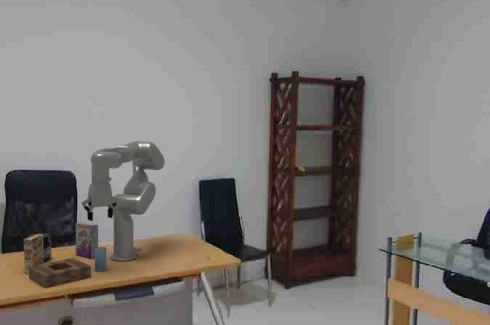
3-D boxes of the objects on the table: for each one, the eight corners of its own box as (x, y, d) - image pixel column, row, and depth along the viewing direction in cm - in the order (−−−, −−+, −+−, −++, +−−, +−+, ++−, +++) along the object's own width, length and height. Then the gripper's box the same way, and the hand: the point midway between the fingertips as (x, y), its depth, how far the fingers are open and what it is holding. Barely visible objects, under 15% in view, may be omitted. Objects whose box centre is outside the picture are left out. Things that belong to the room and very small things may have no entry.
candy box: (32, 273, 215) (32, 239, 213) (23, 273, 216) (23, 238, 214) (44, 267, 224) (43, 234, 222) (35, 267, 224) (34, 234, 223)
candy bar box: (74, 255, 244) (74, 222, 242) (82, 253, 248) (82, 221, 246) (90, 259, 238) (90, 226, 237) (98, 256, 242) (98, 224, 241)
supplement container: (26, 258, 237) (26, 234, 235) (50, 256, 241) (49, 232, 240) (28, 264, 227) (27, 239, 226) (52, 262, 232) (52, 237, 231)
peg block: (73, 268, 223) (73, 257, 223) (91, 277, 212) (91, 265, 212) (28, 278, 209) (28, 266, 209) (45, 288, 198) (45, 275, 198)
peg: (102, 267, 226) (102, 246, 225) (108, 270, 222) (108, 248, 221) (92, 269, 222) (92, 248, 221) (98, 272, 219) (98, 250, 218)
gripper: (113, 178, 227) (113, 215, 229) (78, 181, 215) (78, 220, 216) (122, 180, 222) (121, 218, 223) (86, 183, 209) (86, 223, 211)
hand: (100, 219), depth 220 cm, fingers open, 9 cm apart
